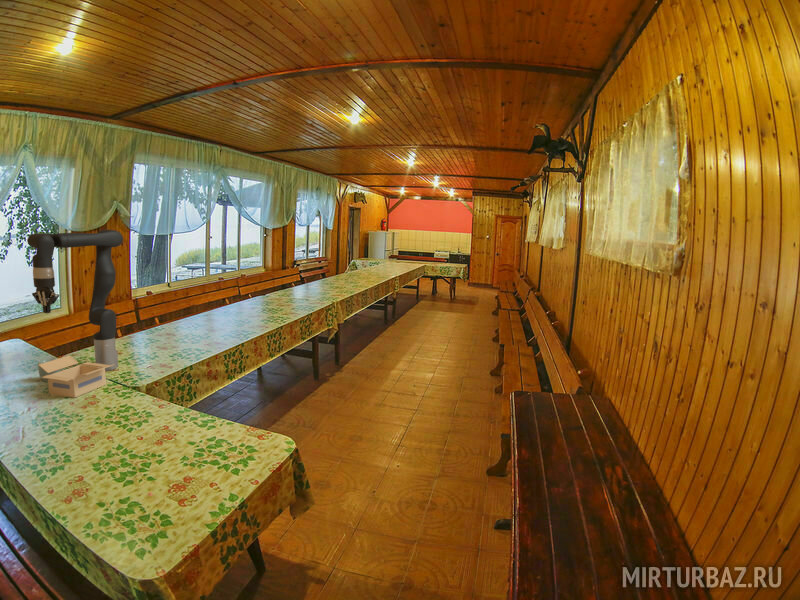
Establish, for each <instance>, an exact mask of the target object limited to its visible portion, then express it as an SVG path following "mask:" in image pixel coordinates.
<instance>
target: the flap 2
mask: <svg viewBox="0 0 800 600" xmlns="http://www.w3.org/2000/svg"><path fill="white" fill-rule="evenodd" d="M113 365H114V364H113ZM113 365H109V366H105V367H102V368H99V369H96V370H93V371H91V372H88V373H85V374H82V375H79V376H77V377H81V376H85V375H88V374H91V373H93V372H96V371H99V370H102V369H104V368H107V367H110V366H113ZM77 377H76V378H77Z"/></svg>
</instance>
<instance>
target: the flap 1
mask: <svg viewBox="0 0 800 600" xmlns="http://www.w3.org/2000/svg"><path fill="white" fill-rule="evenodd" d="M54 359H55V360H52V361H49V362H45V363H42V364H39V365H38V364H37V367H38V366H40V367H41V368H42V369H43V370H44V371H46V372H47V373H51V372H54V371H57V370H60V371H61V370H62V369H63V370H64V369H65V368H66V369H67V368H68V367H69V368H70V367H73V366H75V365H78V364H79V362H78V361H77V360H76V359H74V358H73V356H71V355H66V356H63V357H59V358H54Z"/></svg>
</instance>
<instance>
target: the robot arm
mask: <svg viewBox="0 0 800 600" xmlns="http://www.w3.org/2000/svg"><path fill="white" fill-rule="evenodd" d="M26 239H27V240H26V242H27V244H28V246H30V247H32V248H33V249H36V253H35V254H34V255H32V278H33V279H32V280H33V286H34V288H35V292H32V293H31V295H32V297H33V298H34V299H35V301H36V302H37V303H38V305H39V304H40V305H41V306H42V312H43V313H44V314H50V313H52V312H51V311H52V309H51V308H52V307H51V305H55V303H56V301H57V300H58V298H59V297H60V294H58V293H57V294H56V293H55V289H54V287H55V286H56V281H55V271H54V266H53V265H54V263H53V256H54V251H55V248H59V249H60V248H61V249H66V248H80V247H81V248H82V247H92V246H95V250H96V251H95V252H96V253H95V265H94V266H95V267H94V268H95V269H94V277H93V288H92V297H91V302H90V306H89V311H88V320H89V322H90V324H91V325H94V326H99V331H97V332H94V333H93V345H94V361H95V362H94V363H98V364H105V365H113V364H114V365H113V366H110V367H107V368H105V372H109V371H113V370H115V369H117V368H118V367H119V358H118V357H119V356H118V349H116V332H117V314H116V313H115V311H114V310H113V309H111V308H110V309H109V308H106V307H105V306H106V300H107V298H108V296H109V294H110V293H111V292H112V290H113V289H114V287H115V285H116V275H117V274H116V273H117V272H116V268H115V265H114V263H113V260H112V250H113V249H112V248H117V247H119V246H121V245H122V244H123V242H124V237H123V234H122V233H121V232H120V231H118V230H115V229H101V230H99V231H98V232H96V233H91V232H90V233H88V232H87V233H86V232H85V233H84V232H59V233H41V232H40V233H39V232H37V233H32V234H30V235H29V236H28V237H27V238H26ZM101 368H102V367H101Z"/></svg>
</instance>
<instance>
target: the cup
mask: <svg viewBox="0 0 800 600" xmlns="http://www.w3.org/2000/svg"><path fill="white" fill-rule="evenodd" d="M55 359H56V358H47V359H46V358H45V359H42V360H40V361H38V363H37V369H38V375H39V378H40V380H41V381H42V382H45V383H46V382H47V383H48V379H45V378H41V377H43V376H46V375H51V374H54V373H57V372H60V371H61V369H60V370H57V371H54V372H51V373H47V372H46V371H44V370H43V369H42V368H41V367H40V366H38V365H39V364H42V363H45V362H49V361H52V360H55Z"/></svg>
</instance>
